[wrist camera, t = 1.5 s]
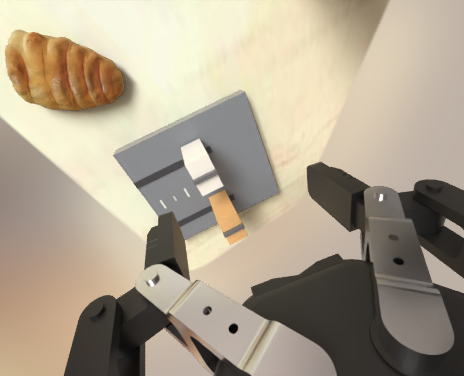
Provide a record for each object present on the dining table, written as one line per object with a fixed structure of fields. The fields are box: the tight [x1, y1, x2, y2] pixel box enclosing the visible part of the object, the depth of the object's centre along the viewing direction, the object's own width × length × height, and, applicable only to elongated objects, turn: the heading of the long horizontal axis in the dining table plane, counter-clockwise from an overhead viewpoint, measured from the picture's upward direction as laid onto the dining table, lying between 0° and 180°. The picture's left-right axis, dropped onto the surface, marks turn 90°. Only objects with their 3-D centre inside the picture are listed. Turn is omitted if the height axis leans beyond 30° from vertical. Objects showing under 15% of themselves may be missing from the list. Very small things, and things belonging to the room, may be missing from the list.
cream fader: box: [181, 139, 223, 196], centre depth 26 cm, size 3×4×6 cm, turn 23°
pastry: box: [5, 30, 124, 111], centre depth 23 cm, size 9×7×4 cm
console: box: [113, 90, 279, 240], centre depth 32 cm, size 17×16×2 cm
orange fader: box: [209, 190, 248, 245], centre depth 31 cm, size 3×4×6 cm, turn 23°
